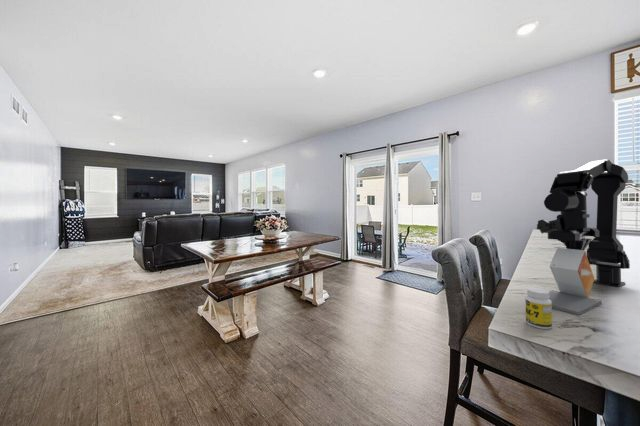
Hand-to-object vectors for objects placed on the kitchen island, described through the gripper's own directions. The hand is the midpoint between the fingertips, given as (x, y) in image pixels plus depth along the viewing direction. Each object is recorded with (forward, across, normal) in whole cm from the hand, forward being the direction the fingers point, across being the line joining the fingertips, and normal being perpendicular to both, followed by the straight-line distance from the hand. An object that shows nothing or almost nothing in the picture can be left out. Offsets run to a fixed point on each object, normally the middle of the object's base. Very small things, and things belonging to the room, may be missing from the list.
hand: (574, 261), depth 77 cm
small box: (+8, -2, 0) cm, 8 cm away
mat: (+11, +10, +1) cm, 15 cm away
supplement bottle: (+12, +32, +4) cm, 34 cm away
